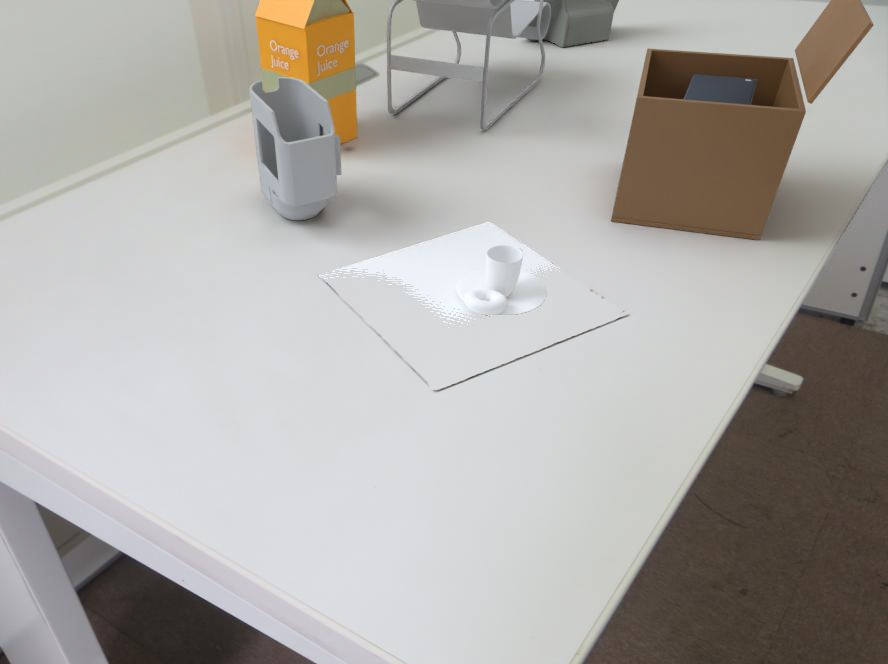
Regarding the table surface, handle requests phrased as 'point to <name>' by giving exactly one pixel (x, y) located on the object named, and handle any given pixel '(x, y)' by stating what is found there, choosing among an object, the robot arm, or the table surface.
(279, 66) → the orange juice
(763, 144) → the carton
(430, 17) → the chair
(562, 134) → the table surface
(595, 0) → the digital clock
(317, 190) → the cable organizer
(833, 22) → the flap
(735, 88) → the small box
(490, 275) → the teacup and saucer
